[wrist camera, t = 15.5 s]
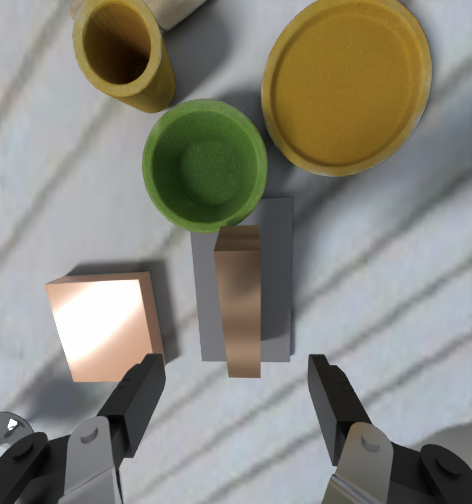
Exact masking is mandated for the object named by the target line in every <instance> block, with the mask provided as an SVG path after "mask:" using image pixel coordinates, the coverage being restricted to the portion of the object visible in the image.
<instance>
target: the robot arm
mask: <svg viewBox="0 0 472 504" xmlns="http://www.w3.org/2000/svg"><path fill="white" fill-rule="evenodd" d="M165 381H166V376H165V369H164V362H163V356H162V354H161V353H148V354H146V356H145V357H144V359H143V360H142V362H141V363H140V364H135V365H134V366H133V367H132V368H130V369H129V370H128V371H127V372H126V374H125V375H124V377H123V378H122V380H121V381H120V382H119V384H118V385H117V388H115V390H114V391H113V393H112V394H111V395H110V397H109V398H108V400H107V401H106V403H105V404H104V405H103V407H102V408H101V410H100V411H99V413H98V414H97V415H96V417H93V418H90V419H88V420H86V421H85V422H83V423H82V424H80V425H79V426H78V427H77V428H76V429H75V430H74V431H73V433H72V434H70V435H67V436H64V437H60V438H57V439H53V440H50V441H48V438H47V435H46V434H45V433H43V432H36V433H32V434H29V435H27V436H25V437H23V438H22V439H20V440H18V441H17V442H16V443H14V444H13V445H12V446H11V447H10V448H8V449H7V450H6V451H5V453H4V454H3V455H2V456H1V457H0V504H124V497H123V490H122V482H121V474H120V468H119V467H120V465H121V463H122V460H123V458H133V457H134V455H135V453H136V451H137V448H138V446H139V444H140V442H141V439H142V437H143V435H144V432H145V430H146V428H147V426H148V423H149V421H150V419H151V417H152V414H153V412H154V410H155V408H156V405H157V403H158V401H159V399H160V396H161V394H162V392H163V389H164V386H165ZM308 387H309V392H310V395H311V398H312V401H313V405H314V408H315V411H316V414H317V417H318V421H319V424H320V427H321V430H322V433H323V437H324V440H325V443H326V446H327V449H328V453H329V456H330V459H331V462H332V465H333V466H337V469H336V472H335V474H332V476H331V478H330V480H329V483H328V486H327V489H326V492H325V495H324V498H323V501H322V504H472V470H471V469H470V467H469V466H468V465H467V464H466V463H465V462H464V461H463V460H462V459H461V458H460V457H458V456H457V455H456V454H454V453H453V452H451V451H450V450H448V449H446V448H444V447H441V446H438V445H433V444H427V445H424V446H423V447H422V448H421V451H420V452H418V451H415V450H412V449H409V448H406V447H403V446H400V445H398V444H395V443H393V442H391V441H390V440H389V439H388V437H387V436H386V435H385V434H384V433H383V432H382V431H381V430H380V429H378V428H377V427H375V426H373V424H372V422H371V421H370V419H369V417H368V415H367V413H366V411H365V410H364V408H363V406H362V404H361V402H360V400H359V399H358V397H357V395H356V393H355V392H354V389H353V388H352V386H351V384H350V382H349V380H348V378H347V377H346V375H345V373H344V372H343V371H342V370H341V369H340V368H339V367H338V366H336V365H329V363H328V361H327V359H326V357H325V355H324V354H309V359H308Z"/></svg>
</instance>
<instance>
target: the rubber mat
mask: <svg viewBox="0 0 472 504" xmlns="http://www.w3.org/2000/svg"><path fill="white" fill-rule="evenodd" d="M239 225H259V235H260V246H261V348H260V362H290V330H291V279H292V229H293V197H286V198H262V199H261V200H260V201H259V203H258V205H257V206H256V208H255V209H254V210H253V211H252V213H251V214H250V215H249V216H248V217H247V218H246V219H244V220H243V221H242V222H241V223H239V224H238V225H236V226H239ZM218 234H219V232H216V233H197V232H192V231H191V242H192V253H193V265H194V276H195V287H196V298H197V309H198V320H199V331H200V343H201V354H202V361H227V357H226V349H225V341H224V333H223V325H222V317H221V308H220V300H219V292H218V284H217V276H216V268H215V260H214V248H215V244H216V241H217V237H218Z"/></svg>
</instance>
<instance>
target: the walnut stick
mask: <svg viewBox="0 0 472 504" xmlns="http://www.w3.org/2000/svg"><path fill="white" fill-rule="evenodd" d="M214 260H215V268H216V276H217V284H218V292H219V300H220V308H221V317H222V325H223V333H224V341H225V349H226V357H227V365H228V374H229V377H237V378H260V348H261V246H260V235H259V225H239V226H220V230H219V234H218V237H217V241H216V244H215V248H214Z"/></svg>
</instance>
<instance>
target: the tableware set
mask: <svg viewBox="0 0 472 504" xmlns="http://www.w3.org/2000/svg"><path fill="white" fill-rule="evenodd" d="M206 1H207V0H145V1H143V0H74V1H73V3H72V4H71V7H70V14H71V17H72V19H73V20H74V21H75V22H74V27H73V35H72V37H73V47H74V51H75V55H76V59H77V62H78V64H79V67H80V69H81V71H82V72H83V74H84V75H85V77H86V79H87V80H88V81H89V82H90V83H91V84H92V85H93V86H95V87H96V88H97V89H98V90H100V91H102V92H103V93H105V94H107V95H109V96H111V97H113V98H115V99H118V100H120V101H122V102H124V103H126V104H128V105H130V106H132V107H134V108H137V109H139V110H141V111H144V112H147V113H156V112H160V111H162V110H164V109H165V108H167V106H168V105H169V104H170V103H171V101H172V99H173V97H174V94H175V90H176V80H175V74H174V71H173V68H172V65H171V62H170V59H169V56H168V53H167V50H166V47H165V43H164V40H163V37H162V34H161V31H160V29H162V30H164V31H169V30H170V29H172V28H173V27H174V26H176V25H177V24H178V23H179V22H181V21H182V20H183V19H185V18H186V17H187V16H188V15H190V14H191V13H192V12H193V11H195V10H196V9H197V8H198V7H200V6H201V5H202V4H203V3H204V2H206ZM431 81H432V59H431V54H430V48H429V43H428V40H427V38H426V35H425V33H424V31H423V29H422V27H421V25H420V23H419V22H418V20H417V18H416V17H415V16H414V15H413V14H412V13H411V12H410V11H409V10H408V9H407V8H406V7H405V6H404V5H403V4H401V3H400V2H399V1H398V0H317V1H316V2H314V3H312V4H310V5H309V6H308V7H306V8H305V9H304V10H303V11H301V12H300V13H299V14H298V15H297V16H295V18H294V19H293V20H292V21H291V22H290V23H289V24H288V25H287V26H286V28H285V29H284V30H283V32H282V33H281V35H280V36H279V38H278V40H277V41H276V43H275V45H274V47H273V49H272V50H271V53H270V55H269V57H268V60H267V63H266V66H265V70H264V75H263V80H262V87H261V104H262V113H263V118H264V122H265V125H266V128H267V131H268V133H269V135H270V137H271V139H272V141H273V142H274V144H275V145H276V147H277V148H278V149H279V151H280V152H281V153H282V154H283V155H284V156H285V157H286V158H287V159H288V160H289V161H290V162H292V163H293V164H295V165H296V166H298V167H299V168H301V169H303V170H305V171H307V172H310V173H313V174H316V175H322V176H328V177H341V176H349V175H353V174H357V173H360V172H363V171H366V170H368V169H371V168H373V167H375V166H376V165H378V164H380V163H382V162H383V161H384V160H386V159H387V158H389V157H390V156H391V155H392V154H394V153H395V152H396V151H397V150H398V149H399V148H400V147H401V146H402V145H403V143H404V142H405V141H406V140H407V139H408V138H409V136H410V135H411V134H412V132H413V131H414V129H415V127H416V126H417V124H418V122H419V120H420V118H421V116H422V114H423V112H424V110H425V107H426V104H427V100H428V97H429V93H430V87H431ZM142 170H143V177H144V182H145V186H146V189H147V191H148V193H149V196H150V198H151V200H152V201H153V203H154V205H155V206H156V207H157V209H158V210H159V211H160V212H161V213H162V214H163V215H164V216H165V217H166V218H167V219H168V220H169V221H171V222H172V223H174V224H175V225H177V226H179V227H181V228H183V229H186V230H189V231H192V232H197V233H216V232H219V230H220V226H236V225H238V224H239V223H241V222H242V221H243V220H244V219H246V218H247V217H248V216H249V215H250V214H251V213H252V211H253V210H254V209H255V208H256V206H257V205H258V203H259V201H260V200H261V198H262V195H263V193H264V191H265V187H266V183H267V177H268V157H267V151H266V147H265V144H264V141H263V139H262V137H261V135H260V133H259V131H258V129H257V128H256V126H255V125H254V124H253V122H252V121H251V120H250V119H249V118H248V117H247V116H246V115H245V114H244V113H243V112H241V111H240V110H239V109H237V108H235V107H234V106H232V105H230V104H227V103H225V102H223V101H219V100H214V99H195V100H189V101H187V102H184V103H181V104H179V105H177V106H175V107H173V108H172V109H170V110H169V111H167V112H166V113H165V114H164V115H163V116H162V117H161V118H160V119H159V120H158V121H157V123H156V124H155V125H154V127H153V128H152V130H151V132H150V134H149V136H148V139H147V141H146V144H145V147H144V151H143V162H142Z"/></svg>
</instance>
